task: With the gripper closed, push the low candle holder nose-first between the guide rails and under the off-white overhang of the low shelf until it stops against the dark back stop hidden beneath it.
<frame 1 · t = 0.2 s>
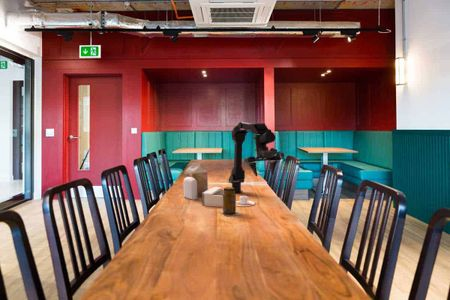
hand: (264, 175, 151), 15 cm above the table, tool pointing down, fingers open, 9 cm apart
low shelf: (216, 202, 159), on the table
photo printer: (190, 198, 169), on the table
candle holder: (243, 204, 155), on the table
milk carton: (196, 194, 180), on the table
condiment: (230, 213, 137), on the table
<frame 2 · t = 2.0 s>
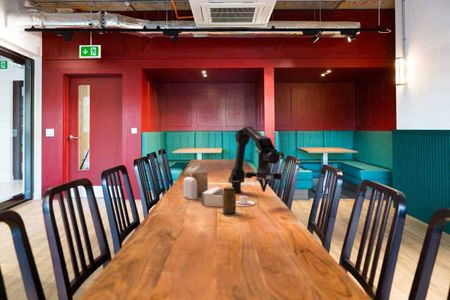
hand: (263, 191, 151), 7 cm above the table, tool pointing down, fingers closed
nothing on the table moved.
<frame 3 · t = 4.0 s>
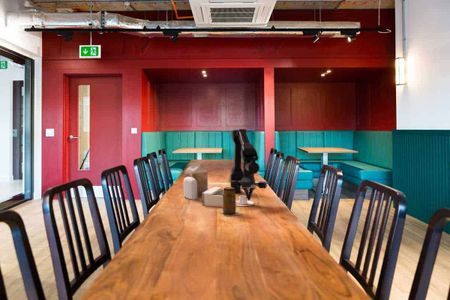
hand: (248, 200, 154), 2 cm above the table, tool pointing down, fingers closed
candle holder: (242, 204, 155), on the table, touching gripper
everything else where it was.
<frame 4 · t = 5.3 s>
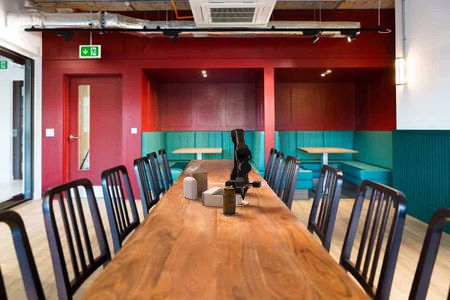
hand: (243, 199, 154), 2 cm above the table, tool pointing down, fingers closed
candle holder: (237, 204, 155), on the table, touching gripper
everything else where it was.
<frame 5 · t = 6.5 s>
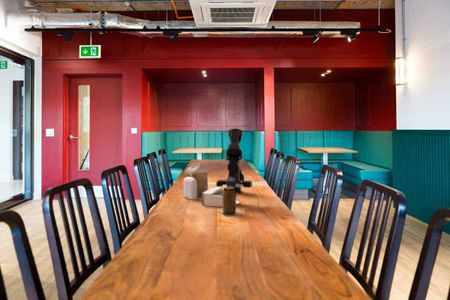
hand: (234, 199, 156), 2 cm above the table, tool pointing down, fingers closed
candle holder: (228, 204, 156), on the table, touching gripper
everything else where it was.
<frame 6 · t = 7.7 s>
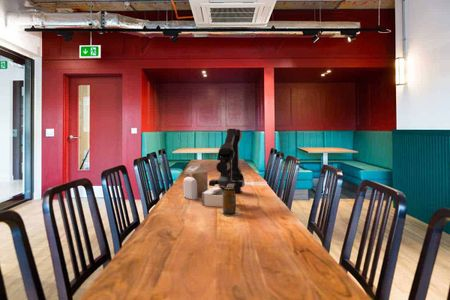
hand: (226, 198, 157), 2 cm above the table, tool pointing down, fingers closed
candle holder: (220, 203, 158), on the table, touching gripper
everything else where it was.
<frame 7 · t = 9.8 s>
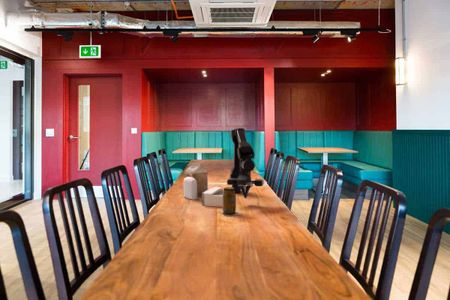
hand: (245, 198, 154), 3 cm above the table, tool pointing down, fingers closed
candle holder: (220, 203, 158), on the table
everything else where it was.
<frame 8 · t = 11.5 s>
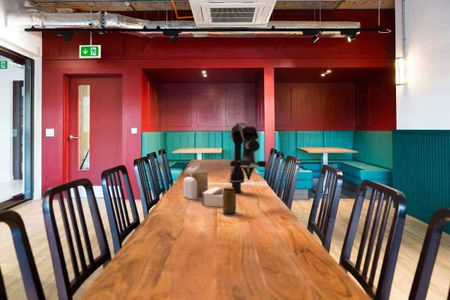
hand: (248, 179, 153), 13 cm above the table, tool pointing down, fingers closed
nothing on the table moved.
at the end: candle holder 0.6 cm from the target spot on the low shelf, point -0.6 cm above the low shelf's base; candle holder tilted 0° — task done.
